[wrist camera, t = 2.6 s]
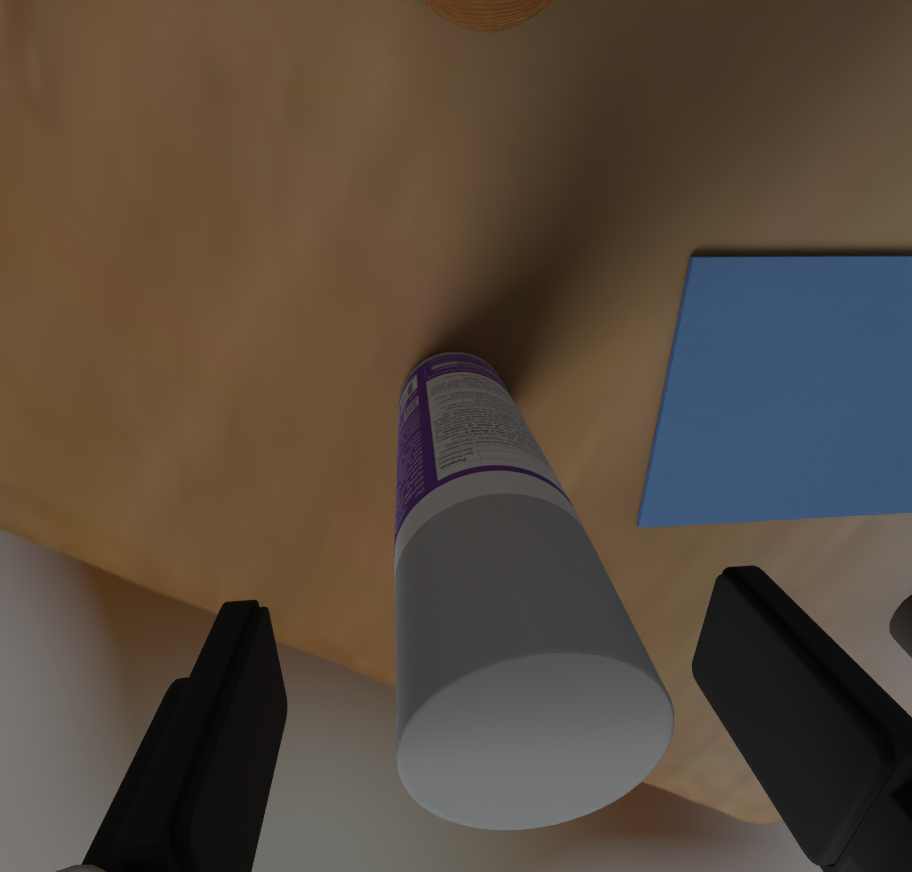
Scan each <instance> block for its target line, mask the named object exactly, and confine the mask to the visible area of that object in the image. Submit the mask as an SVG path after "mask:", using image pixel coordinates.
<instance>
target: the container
mask: <svg viewBox="0 0 912 872" xmlns="http://www.w3.org/2000/svg"><path fill="white" fill-rule="evenodd" d="M394 559H395V642H396V729H397V731H396V738H397V739H396V740H397V767H398V772H399V775H400V778H401V780H402V782H403V785H404V786H405V788H406V789H407V791H408V792H409V794H410V795H411V796H412V797H413V798H414V799H415V800H416V801H417V802H418V803H419V804H420V805H421V806H423V807H424V808H426V809H427V810H429V811H430V812H432V813H434V814H435V815H437V816H439V817H441V818H444V819H446V820H449V821H452V822H454V823H457V824H461V825H466V826H470V827H475V828H482V829H492V830H520V829H529V828H537V827H544V826H549V825H553V824H558V823H562V822H565V821H569V820H572V819H575V818H578V817H581V816H584V815H586V814H589V813H591V812H594V811H596V810H598V809H600V808H602V807H604V806H606V805H608V804H610V803H612V802H614V801H615V800H617V799H618V798H620V797H622V796H623V795H624V794H626V793H628V792H629V791H630V790H632V789H633V788H634V787H636V786H637V785H638V784H639V783H640V782H642V781H643V780H644V779H645V778H646V777H647V776H648V775H649V774H650V773H651V771H652V770H653V769H654V768H655V767H656V766H657V764H658V763H659V761H660V760H661V759H662V757H663V755H664V753H665V752H666V750H667V748H668V745H669V743H670V740H671V737H672V734H673V728H674V710H673V706H672V702H671V699H670V697H669V695H668V693H667V691H666V689H665V687H664V685H663V683H662V681H661V679H660V677H659V675H658V673H657V671H656V669H655V667H654V665H653V663H652V661H651V659H650V657H649V655H648V653H647V651H646V649H645V647H644V645H643V643H642V641H641V640H640V638H639V636H638V634H637V632H636V630H635V628H634V626H633V624H632V622H631V620H630V618H629V616H628V614H627V612H626V610H625V608H624V606H623V604H622V602H621V600H620V598H619V596H618V594H617V592H616V590H615V588H614V586H613V584H612V582H611V580H610V579H609V577H608V575H607V573H606V571H605V569H604V567H603V565H602V563H601V561H600V559H599V557H598V555H597V553H596V551H595V549H594V547H593V545H592V543H591V541H590V539H589V537H588V535H587V533H586V531H585V529H584V527H583V525H582V523H581V521H580V519H579V517H578V515H577V513H576V511H575V509H574V507H573V506H572V504H571V502H570V500H569V498H568V497H567V495H566V493H565V491H564V490H563V488H562V486H561V484H560V483H559V481H558V479H557V477H556V475H555V474H554V472H553V470H552V468H551V467H550V465H549V463H548V461H547V459H546V458H545V456H544V454H543V452H542V451H541V449H540V447H539V445H538V443H537V442H536V440H535V438H534V436H533V435H532V433H531V431H530V429H529V427H528V426H527V424H526V422H525V420H524V419H523V417H522V415H521V413H520V411H519V410H518V408H517V406H516V404H515V403H514V401H513V399H512V397H511V395H510V394H509V392H508V390H507V388H506V387H505V385H504V383H503V381H502V379H501V378H500V376H499V375H498V373H497V372H496V371H495V369H494V368H493V367H492V366H491V365H490V364H488V363H487V362H486V361H484V360H483V359H481V358H479V357H477V356H475V355H472V354H469V353H464V352H445V353H440V354H437V355H434V356H431V357H429V358H427V359H425V360H424V361H422V362H421V363H419V364H418V365H417V366H416V367H415V368H414V369H413V370H412V371H411V372H410V374H409V375H408V377H407V378H406V380H405V382H404V384H403V387H402V390H401V394H400V401H399V425H398V455H397V486H396V517H395V548H394Z"/></svg>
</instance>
